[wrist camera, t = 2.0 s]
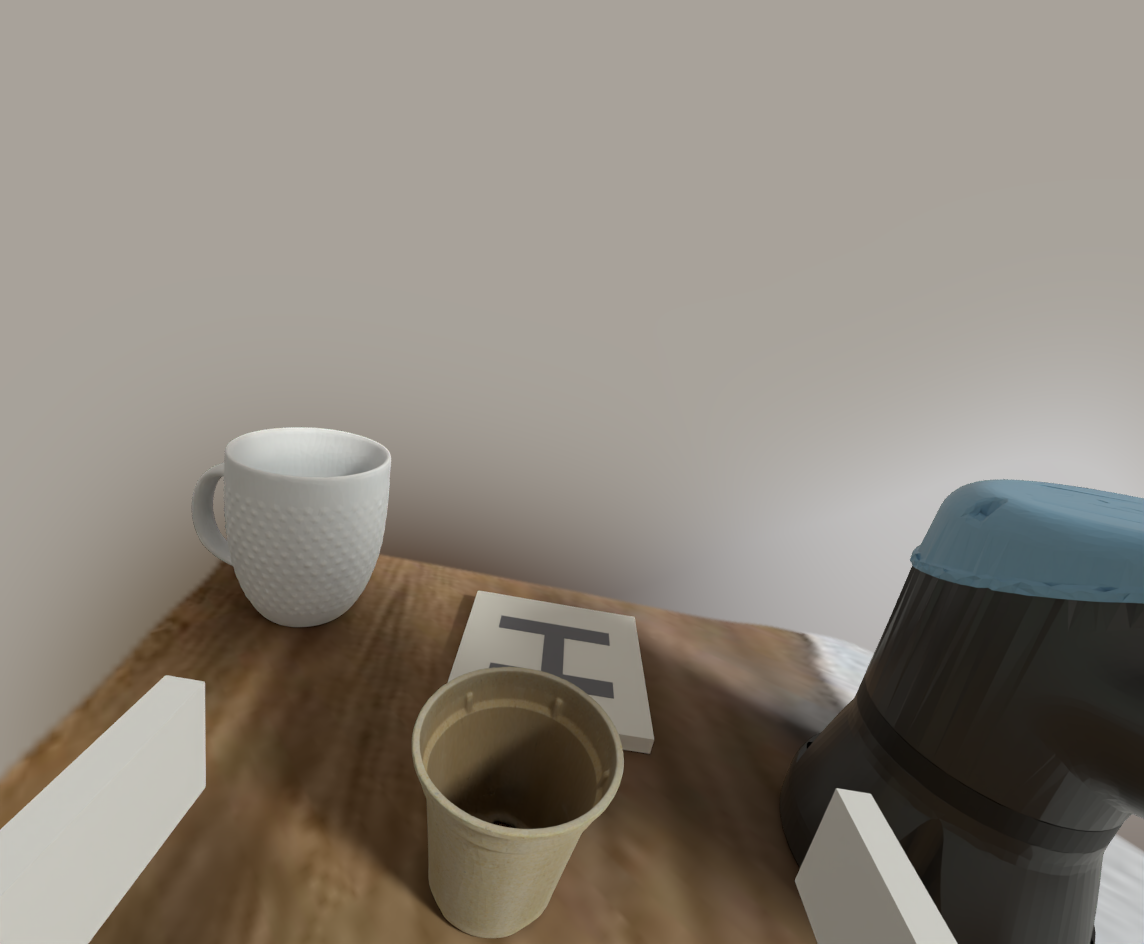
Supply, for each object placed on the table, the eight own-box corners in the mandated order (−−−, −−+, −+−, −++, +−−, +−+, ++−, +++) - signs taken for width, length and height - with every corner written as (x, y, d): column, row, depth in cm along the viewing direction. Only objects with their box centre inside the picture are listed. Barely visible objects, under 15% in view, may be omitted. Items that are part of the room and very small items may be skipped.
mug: (140, 612, 40) (127, 440, 36) (245, 547, 51) (245, 408, 46) (334, 662, 39) (344, 491, 35) (402, 585, 50) (416, 446, 45)
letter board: (631, 628, 50) (634, 616, 50) (650, 753, 37) (654, 739, 36) (476, 602, 49) (478, 589, 49) (437, 720, 36) (439, 704, 36)
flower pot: (559, 780, 33) (587, 661, 31) (613, 959, 25) (658, 818, 22) (395, 798, 30) (409, 668, 28) (394, 1009, 22) (414, 853, 19)
